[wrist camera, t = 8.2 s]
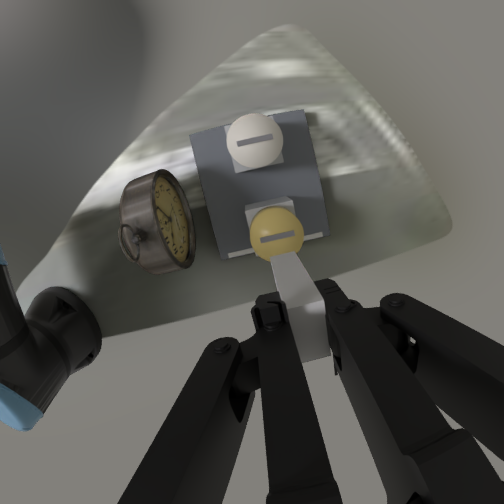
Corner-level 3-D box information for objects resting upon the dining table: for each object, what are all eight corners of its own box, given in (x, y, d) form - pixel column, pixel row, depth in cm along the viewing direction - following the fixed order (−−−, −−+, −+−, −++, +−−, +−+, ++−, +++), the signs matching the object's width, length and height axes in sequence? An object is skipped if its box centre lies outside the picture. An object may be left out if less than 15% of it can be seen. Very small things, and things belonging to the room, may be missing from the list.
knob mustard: (254, 245, 35) (257, 268, 27) (245, 205, 33) (244, 216, 25) (295, 236, 34) (308, 256, 27) (286, 196, 33) (298, 204, 25)
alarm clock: (204, 248, 37) (174, 303, 22) (166, 257, 38) (119, 314, 22) (180, 167, 34) (130, 167, 19) (142, 180, 35) (74, 191, 19)
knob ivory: (237, 172, 32) (233, 173, 24) (227, 132, 31) (220, 120, 23) (279, 163, 32) (289, 161, 24) (269, 122, 30) (276, 108, 23)
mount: (222, 255, 37) (217, 274, 31) (192, 136, 33) (179, 129, 26) (326, 231, 37) (342, 245, 30) (300, 112, 32) (312, 99, 26)
